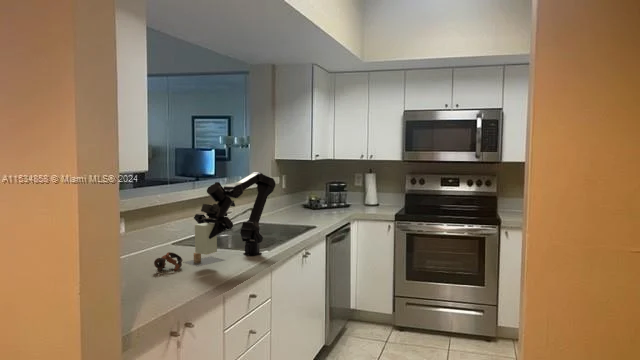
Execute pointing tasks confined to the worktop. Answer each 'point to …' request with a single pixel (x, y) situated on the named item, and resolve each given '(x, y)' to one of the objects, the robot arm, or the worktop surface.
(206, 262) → the slate mat
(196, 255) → the cork stopper
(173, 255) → the red and black headphones
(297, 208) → the worktop surface
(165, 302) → the worktop surface
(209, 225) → the sage cover
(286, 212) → the worktop surface
